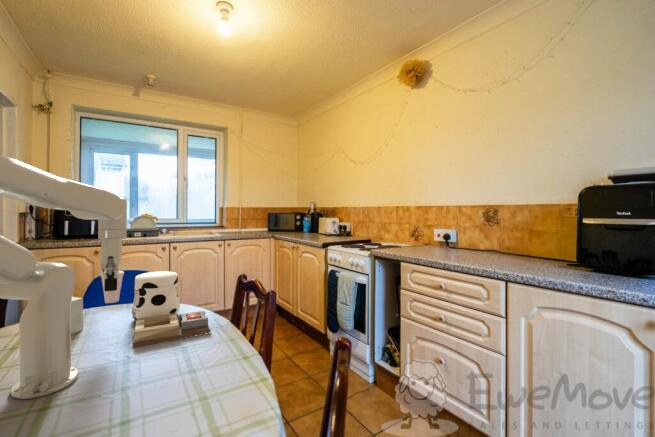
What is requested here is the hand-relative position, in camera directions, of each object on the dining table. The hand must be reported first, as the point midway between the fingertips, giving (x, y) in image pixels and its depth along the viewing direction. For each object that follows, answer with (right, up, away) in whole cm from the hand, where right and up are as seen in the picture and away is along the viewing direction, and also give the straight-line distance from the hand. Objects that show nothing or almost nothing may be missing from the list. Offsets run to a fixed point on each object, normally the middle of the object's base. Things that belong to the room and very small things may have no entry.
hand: (112, 287), depth 97 cm
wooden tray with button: (+14, -19, +11) cm, 26 cm away
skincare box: (-22, -19, +10) cm, 31 cm away
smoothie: (0, -5, 0) cm, 5 cm away
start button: (+20, -17, +14) cm, 30 cm away
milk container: (0, -19, +25) cm, 31 cm away
